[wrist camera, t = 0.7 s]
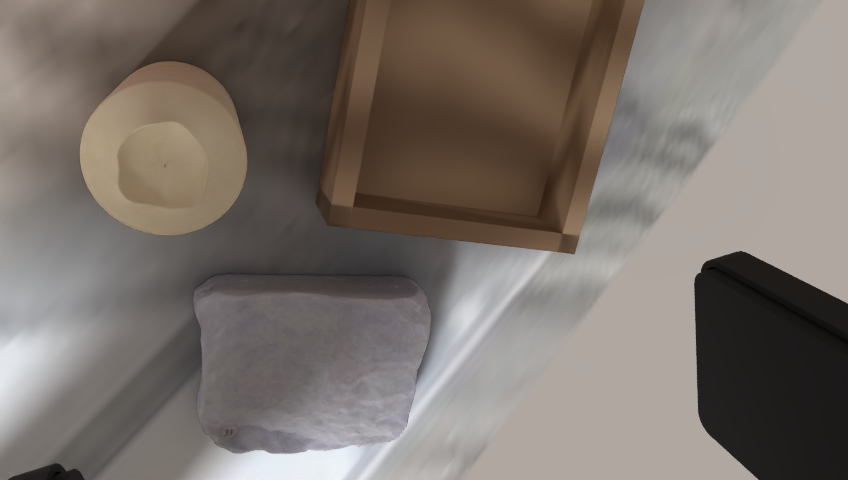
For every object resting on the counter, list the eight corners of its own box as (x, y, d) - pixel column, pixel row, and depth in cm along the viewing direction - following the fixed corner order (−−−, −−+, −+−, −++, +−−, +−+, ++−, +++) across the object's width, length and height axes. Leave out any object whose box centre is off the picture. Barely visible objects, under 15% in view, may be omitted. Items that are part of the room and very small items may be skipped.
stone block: (397, 399, 43) (424, 260, 38) (414, 459, 39) (445, 311, 34) (193, 406, 39) (194, 255, 35) (188, 472, 35) (188, 311, 31)
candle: (260, 140, 33) (281, 193, 24) (160, 201, 33) (143, 278, 24) (191, 36, 31) (186, 52, 22) (83, 100, 31) (32, 143, 22)
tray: (542, 231, 39) (574, 253, 36) (315, 203, 35) (327, 225, 32) (654, -199, 34) (705, -222, 30) (399, -297, 29) (425, -337, 26)
